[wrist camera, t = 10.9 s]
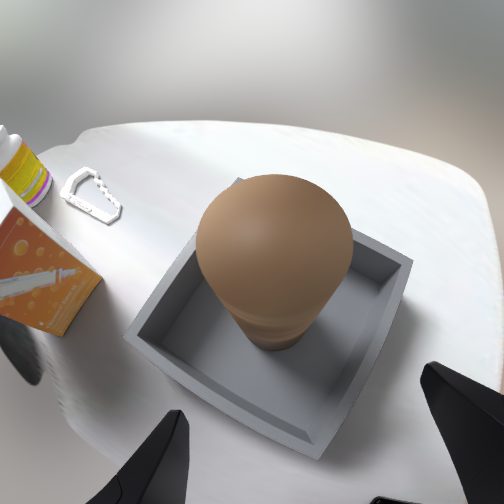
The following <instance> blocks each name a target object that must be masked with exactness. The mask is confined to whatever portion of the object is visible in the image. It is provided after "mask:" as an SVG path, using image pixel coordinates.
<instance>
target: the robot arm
mask: <svg viewBox="0 0 504 504" xmlns="http://www.w3.org/2000/svg"><path fill="white" fill-rule="evenodd" d="M420 384H421V386H422V389H423V392H424V395H425V397H426V400H427V403H428V406H429V409H430V411H431V414H432V416H433V418H434V420H435V423H436V425H437V427H438V429H439V431H440V433H441V436H442V438H443V440H444V442H445V445H446V447H447V449H448V452H449V454H450V456H451V459H452V461H453V464H454V466H455V469H456V471H457V474H458V476H459V479H460V482H461V484H462V487H463V490H464V493H465V496H466V499H467V502H468V504H504V395H503V394H500V393H498V392H496V391H494V390H492V389H490V388H488V387H486V386H484V385H482V384H480V383H478V382H476V381H474V380H472V379H470V378H468V377H466V376H464V375H462V374H460V373H458V372H456V371H454V370H452V369H450V368H448V367H446V366H444V365H442V364H440V363H438V362H436V361H432V362H430V363H427V364H426V365H425V366H424V369H423V372H422V375H421V378H420ZM188 471H189V423H188V421H187V419H186V417H185V415H184V413H183V412H182V411H181V410H170V411H169V412H168V413H167V414H166V416H165V417H164V418H163V419H162V420H161V422H160V423H159V424H158V425H157V426H156V428H155V429H154V430H153V431H152V433H151V434H150V435H149V436H148V437H147V439H146V440H145V441H144V442H143V443H142V445H141V446H140V447H139V448H138V449H137V450H136V452H135V453H134V454H133V455H132V456H131V458H130V459H129V460H128V461H127V462H126V463H125V464H124V466H123V467H122V468H121V469H120V470H119V472H118V473H117V475H115V476H114V477H113V478H112V479H111V481H109V483H108V484H107V485H106V486H105V487H104V488H103V489H102V490H101V491H100V492H99V493H97V495H95V496H94V497H93V498H92V499H91V500H89V501H88V502H87V503H86V504H185V498H186V489H187V480H188ZM379 500H380V501H379ZM377 501H379V502H378V503H376V502H377ZM370 504H419V503H412V502H406V501H400V500H395V499H390V498H386V497H381V496H378V497H376V498H374V499H373V500H372V502H371V503H370Z"/></svg>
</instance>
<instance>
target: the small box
mask: <svg viewBox="0 0 504 504" xmlns="http://www.w3.org/2000/svg"><path fill="white" fill-rule="evenodd" d="M101 279H102V276H101V275H100V274H99V273H98V272H97V271H96V270H95V269H94V268H93V267H92V266H91V265H90V264H89V262H88V261H87V260H86V259H85V258H84V257H83V256H82V255H81V254H80V253H79V251H78V250H77V249H76V248H75V247H74V246H73V245H72V244H70V243H69V242H68V241H67V240H66V239H65V238H63V237H62V236H61V235H60V234H59V233H58V232H56V231H55V230H54V229H53V228H52V227H51V226H50V225H49V224H47V223H46V222H45V221H44V220H43V219H42V218H41V217H40V216H38V215H37V214H36V213H35V212H34V211H33V210H32V209H31V208H30V207H29V206H28V205H27V204H26V203H25V202H24V201H23V200H22V199H21V198H20V197H19V196H18V195H17V194H16V193H15V192H14V191H13V190H12V189H11V188H10V187H9V186H8V185H7V184H6V183H5V182H4V181H3V180H2V179H0V314H1V315H3V316H6V317H8V318H11V319H13V320H15V321H18V322H20V323H23V324H25V325H28V326H30V327H33V328H36V329H39V330H41V331H44V332H47V333H50V334H53V335H56V336H59V337H63V335H64V333H65V331H66V330H67V328H68V326H69V325H70V323H71V321H72V320H73V318H74V317H75V315H76V314H77V312H78V311H79V309H80V308H81V306H82V305H83V304H84V302H85V301H86V299H87V298H88V297H89V295H90V294H91V292H92V291H93V290H94V288H95V287H96V286H97V284H98V283H99V282H100V281H101Z"/></svg>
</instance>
